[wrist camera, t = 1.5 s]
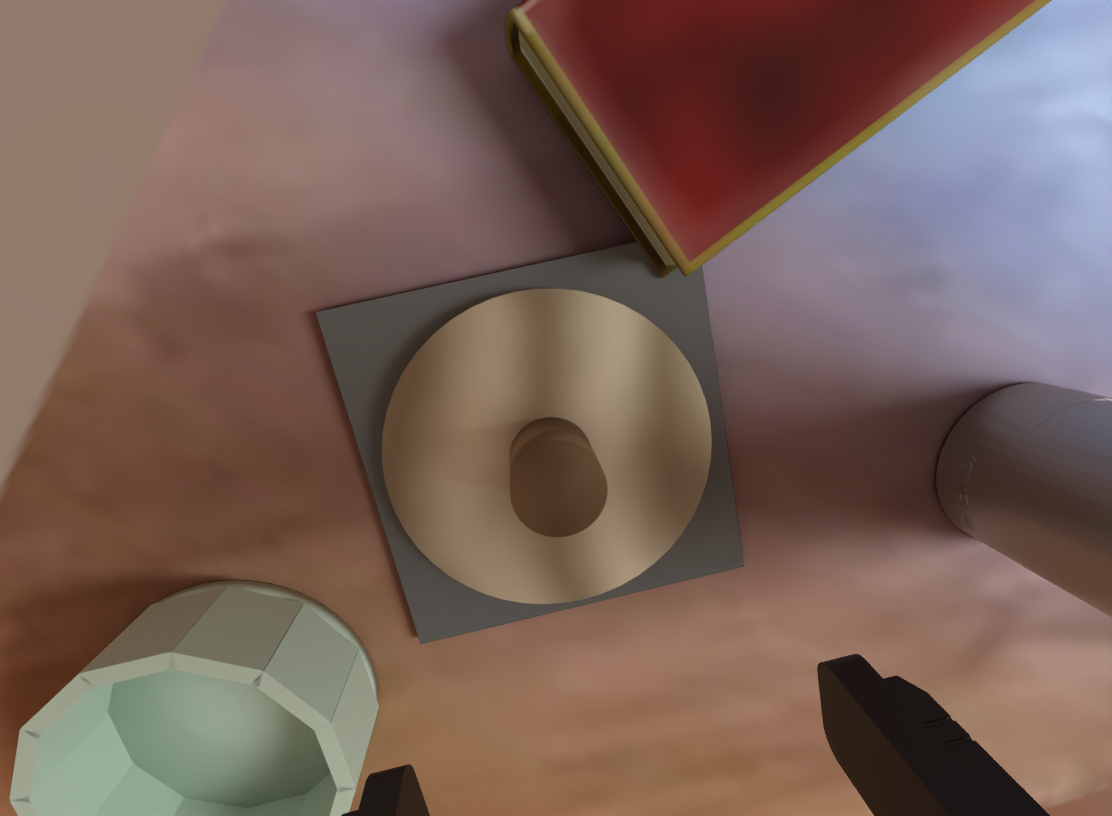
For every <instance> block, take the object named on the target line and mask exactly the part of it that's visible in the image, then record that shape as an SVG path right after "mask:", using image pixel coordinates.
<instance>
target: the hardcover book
mask: <svg viewBox="0 0 1112 816" xmlns="http://www.w3.org/2000/svg"><path fill="white" fill-rule="evenodd" d="M1050 1H1051V0H524V1H522V2H521V3H520V4H519V5H517V6H516V7H515V8H514V9H512V10H511V11H510V12H509V13H508V14H507V17H506V19H505V35H506V41H507V46H508V50H509V52H510V55H511V57H512V59H513V60H514V62H515V63H516V65H517V66H518V68H519V69H520V70H521V72H522V73H523V75H524V76H525V78H526V79H527V81H528V82H529V84H530V85H531V87H532V88H533V90H534V91H535V93H536V94H537V95H538V97H539V98H540V100H541V101H542V103H543V104H544V106H545V107H546V109H547V110H548V112H549V113H550V115H551V116H552V118H553V119H554V120H555V122H556V123H557V125H558V126H559V128H560V129H561V131H562V132H563V134H564V135H565V137H566V138H567V140H568V141H569V143H570V144H571V145H572V147H573V148H574V150H575V151H576V153H577V154H578V156H579V157H580V159H581V160H582V162H583V163H584V165H585V166H586V168H587V169H588V170H589V172H590V173H591V175H592V176H593V178H594V179H595V181H596V182H597V184H598V185H599V187H600V188H601V190H602V191H603V193H604V194H605V195H606V197H607V198H608V200H609V201H610V203H611V204H612V206H613V207H614V209H615V210H616V212H617V213H618V215H619V216H620V218H621V219H622V220H623V222H624V223H625V225H626V226H627V228H628V229H629V231H630V232H631V234H632V235H633V237H634V238H635V240H636V241H637V243H638V244H639V246H640V247H641V248H642V250H643V251H644V253H645V254H646V256H647V257H648V259H649V260H650V262H651V263H652V265H653V266H654V268H655V269H656V271H657V272H658V273H659V275H660V276H661V278H664V277H665V276H667V275H668V274H669V273H671V272H672V271H673V270H675V269H676V268H677V267H678V268H679V270H680V271H681V273H682V274H683V276H684V277H686V276H688V275H690V274H691V273H692V272H693V271H695V270H696V269H697V268H699V267H700V266H701V265H703V264H704V263H705V262H707V261H708V260H709V259H711V258H712V257H713V256H715V255H716V254H717V253H719V252H720V251H721V250H723V249H724V248H725V247H727V246H728V245H729V244H730V243H732V242H733V241H734V240H736V239H737V238H738V237H740V236H741V235H742V234H744V233H745V232H746V231H748V230H749V229H750V228H752V227H753V226H754V225H756V224H757V223H758V222H760V221H761V220H762V219H763V218H765V217H766V216H767V215H769V214H770V213H771V212H773V211H774V210H775V209H777V208H778V207H779V206H781V205H782V204H783V203H785V202H786V201H787V200H789V199H790V198H791V197H793V196H794V195H795V194H797V193H798V192H799V191H800V190H802V189H803V188H804V187H806V186H807V185H808V184H810V183H811V182H812V181H814V180H815V179H816V178H818V177H819V176H820V175H822V174H823V173H824V172H826V171H827V170H828V169H830V168H831V167H832V166H833V165H835V164H836V163H837V162H839V161H840V160H841V159H843V158H844V157H845V156H847V155H848V154H849V153H851V152H852V151H853V150H855V149H856V148H857V147H859V146H860V145H861V144H863V143H864V142H865V141H867V140H868V139H869V138H870V137H872V136H873V135H874V134H876V133H877V132H878V131H880V130H881V129H882V128H884V127H885V126H886V125H888V124H889V123H890V122H892V121H893V120H894V119H896V118H897V117H898V116H900V115H901V114H902V113H903V112H905V111H906V110H907V109H909V108H910V107H911V106H913V105H914V104H915V103H917V102H918V101H919V100H921V99H922V98H923V97H925V96H926V95H927V94H929V93H930V92H931V91H933V90H934V89H935V88H937V87H938V86H939V85H940V84H942V83H943V82H944V81H946V80H947V79H948V78H950V77H951V76H952V75H954V74H955V73H956V72H958V71H959V70H960V69H962V68H963V67H964V66H966V65H967V64H968V63H970V62H971V61H972V60H973V59H975V58H976V57H977V56H979V55H980V54H981V53H983V52H984V51H985V50H987V49H988V48H989V47H991V46H992V45H993V44H995V43H996V42H997V41H999V40H1000V39H1001V38H1003V37H1004V36H1005V35H1007V34H1008V33H1009V32H1010V31H1012V30H1013V29H1014V28H1016V27H1017V26H1018V25H1020V24H1021V23H1022V22H1024V21H1025V20H1026V19H1028V18H1029V17H1030V16H1032V15H1033V14H1034V13H1036V12H1037V11H1038V10H1040V9H1041V8H1042V7H1043V6H1045V5H1046V4H1047V3H1049V2H1050Z"/></svg>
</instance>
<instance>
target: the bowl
mask: <svg viewBox="0 0 1112 816" xmlns="http://www.w3.org/2000/svg"><path fill="white" fill-rule="evenodd" d="M378 709H379V705H378V685H377V678H376V674H375V670H374V666H373V664H372V661H371V659H370V657H369V654H368V652H367V650H366V649H365V647H364V645H363V644H362V642H361V641H360V639H359V638H358V636H357V635H356V634H355V633H354V632H353V630H352V629H351V628H350V627H349V626H348V625H347V624H346V623H345V622H344V621H343V620H342V619H341V618H340V617H339V616H338V615H336V614H335V613H334V612H332V611H331V610H330V609H328V608H327V607H325V606H324V605H322V604H321V603H319V602H317V601H315V600H313V599H312V598H310V597H308V596H306V595H303V594H301V593H298V592H296V591H294V590H291V589H288V588H284V587H281V586H277V585H274V584H268V583H262V582H256V581H241V580H232V581H217V582H211V583H205V584H199V585H196V586H193V587H189V588H186V589H183V590H180V591H178V592H176V593H173V594H171V595H169V596H167V597H165V598H163V599H162V600H160V601H158V602H157V603H154V604H152V605H150V606H149V607H148V608H147V609H146V610H145V611H144V612H143V613H142V614H141V615H139V616H138V617H137V618H136V619H135V620H134V621H133V622H132V623H131V624H130V625H129V626H128V627H127V628H126V629H125V630H124V631H122V632H121V633H120V634H119V635H118V636H117V637H116V638H115V639H114V640H113V641H112V642H111V643H110V644H109V645H108V646H106V647H105V648H104V649H103V650H102V651H101V652H100V653H99V654H98V655H97V656H96V657H95V658H94V659H93V660H92V661H91V662H90V663H89V664H88V665H87V666H85V667H84V668H83V669H82V670H81V671H80V672H79V673H78V674H77V675H76V676H75V677H74V678H73V679H72V680H71V681H70V682H69V683H68V684H67V685H66V686H65V687H64V688H62V689H61V690H60V691H59V692H58V693H57V694H56V695H55V696H54V697H53V698H52V699H51V700H50V701H49V702H48V703H47V704H46V705H45V706H44V707H43V708H42V709H40V710H39V711H38V712H37V713H36V714H35V715H34V716H33V717H32V718H31V719H30V720H29V721H28V722H27V723H26V724H25V725H24V726H23V727H22V728H21V729H20V731H19V738H18V745H17V752H16V758H15V765H14V772H13V779H12V786H11V793H10V799H9V800H10V803H11V804H12V806H13V808H14V809H15V811H16V813H17V815H18V816H341V815H342V814H344V813H348V812H349V810H350V807H351V804H352V800H353V797H354V794H355V790H356V787H357V783H358V780H359V776H360V773H361V769H362V766H363V762H364V759H365V755H366V752H367V748H368V745H369V741H370V737H371V734H372V730H373V727H374V723H375V720H376V716H377V713H378Z"/></svg>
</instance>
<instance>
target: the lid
mask: <svg viewBox="0 0 1112 816" xmlns="http://www.w3.org/2000/svg"><path fill="white" fill-rule="evenodd" d="M711 447H712V436H711V424H710V417H709V412H708V408H707V403H706V399H705V397H704V394H703V391H702V389H701V386H700V383H699V381H698V379H697V377H696V375H695V373H694V371H693V369H692V368H691V366H690V364H689V362H688V361H687V359H686V358H685V357H684V355H683V354H682V353H681V351H680V350H679V348H678V347H677V346H676V345H675V344H674V343H673V341H672V340H671V339H670V338H669V337H668V336H667V335H666V334H665V333H664V332H663V331H662V330H661V329H659V328H658V327H657V326H656V325H654V324H653V323H652V322H650V321H649V320H648V319H647V318H645V317H644V316H642V315H641V314H639V313H637V312H635V311H634V310H632V309H630V308H628V307H627V306H625V305H623V304H620V303H618V302H615V301H613V300H610V299H608V298H605V297H602V296H599V295H595V294H591V293H587V292H583V291H579V290H571V289H562V288H534V289H528V290H521V291H515V292H510V293H507V294H504V295H500V296H497V297H493V298H490V299H488V300H486V301H484V302H481V303H479V304H477V305H475V306H472V307H470V308H469V309H467V310H466V311H464V312H462V313H461V314H459V315H457V316H456V317H454V318H453V319H451V320H450V321H449V322H448V323H446V324H445V325H444V326H443V327H441V328H440V329H439V330H438V331H437V332H435V333H434V334H433V335H432V336H431V337H430V338H429V339H428V340H427V342H426V343H425V344H424V345H423V346H422V347H421V348H420V349H419V350H418V351H417V352H416V354H415V355H414V357H413V358H412V360H411V361H410V363H409V364H408V365H407V367H406V368H405V370H404V371H403V373H402V375H401V377H400V379H399V381H398V383H397V385H396V387H395V389H394V391H393V394H392V397H391V400H390V403H389V406H388V409H387V412H386V418H385V423H384V428H383V436H382V463H383V474H384V478H385V483H386V487H387V491H388V495H389V498H390V500H391V503H392V505H393V508H394V511H395V513H396V515H397V517H398V519H399V521H400V522H401V524H402V526H403V528H404V530H405V531H406V533H407V534H408V536H409V537H410V538H411V540H412V541H413V542H414V544H415V545H416V546H417V548H418V549H419V550H420V551H421V552H422V553H423V554H424V555H425V556H426V557H427V558H428V559H429V560H430V561H431V562H432V563H433V564H434V565H436V566H437V567H438V568H439V569H441V570H442V571H443V572H445V573H446V574H447V575H448V576H450V577H452V578H453V579H455V580H457V581H459V582H460V583H462V584H464V585H465V586H467V587H470V588H472V589H474V590H476V591H479V592H481V593H483V594H486V595H490V596H493V597H496V598H500V599H503V600H508V601H514V602H520V603H531V604H554V603H566V602H571V601H577V600H582V599H586V598H589V597H593V596H596V595H599V594H603V593H605V592H607V591H609V590H612V589H614V588H616V587H619V586H621V585H623V584H624V583H626V582H628V581H630V580H631V579H633V578H635V577H636V576H638V575H640V574H641V573H642V572H644V571H645V570H646V569H648V568H649V567H650V566H652V565H653V564H654V563H655V562H656V561H657V560H658V559H660V558H661V557H662V556H663V555H664V554H665V553H666V552H667V551H668V550H669V549H670V548H671V546H672V545H673V544H674V543H675V542H676V540H677V539H678V538H679V537H680V535H681V534H682V533H683V531H684V530H685V528H686V526H687V525H688V523H689V522H690V520H691V519H692V517H693V515H694V513H695V511H696V508H697V506H698V504H699V502H700V500H701V497H702V494H703V491H704V488H705V485H706V482H707V478H708V473H709V467H710V462H711Z"/></svg>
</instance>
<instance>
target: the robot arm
mask: <svg viewBox="0 0 1112 816" xmlns="http://www.w3.org/2000/svg"><path fill="white" fill-rule="evenodd" d="M936 486H937V492H938V498H939V501H940V503H941V506H942V508H943V510H944V512H945V514H946V515H947V516H948V518H949V519H950V520H951V522H952V523H953V524H954V525H956V526H957V527H958V528H960V529H961V530H962V531H964V532H965V533H967V534H968V535H970V536H972V537H974V538H975V539H977V540H979V541H981V542H982V543H984V544H986V545H988V546H989V547H991V548H993V549H995V550H996V551H998V552H1000V553H1001V554H1003V555H1005V556H1007V557H1008V558H1010V559H1012V560H1014V561H1015V562H1017V563H1019V564H1021V565H1022V566H1024V567H1025V568H1027V569H1029V570H1030V571H1032V572H1034V573H1036V574H1037V575H1039V576H1041V577H1043V578H1044V579H1046V580H1048V581H1050V582H1051V583H1053V584H1055V585H1057V586H1058V587H1060V588H1062V589H1063V590H1065V591H1067V592H1069V593H1070V594H1072V595H1074V596H1076V597H1077V598H1079V599H1081V600H1083V601H1084V602H1086V603H1088V604H1090V605H1091V606H1093V607H1095V608H1097V609H1098V610H1100V611H1102V612H1104V613H1105V614H1107V615H1109V616H1111V617H1112V398H1109V397H1105V396H1100V395H1096V394H1090V393H1085V392H1080V391H1076V390H1071V389H1066V388H1061V387H1057V386H1052V385H1047V384H1043V383H1023V384H1018V385H1014V386H1009V387H1006V388H1003V389H1001V390H999V391H997V392H994V393H992V394H990V395H988V396H987V397H985V398H984V399H983V400H981V401H980V402H978V403H977V404H975V405H974V406H973V407H972V408H971V409H970V410H969V411H968V412H967V413H966V414H965V415H964V416H962V417H961V419H960V420H959V421H958V423H957V424H956V425H955V427H954V428H953V430H952V431H951V432H950V434H949V436H948V438H947V440H946V442H945V444H944V446H943V448H942V451H941V454H940V458H939V461H938V465H937V476H936ZM817 671H818V681H819V690H820V699H821V708H822V717H823V726H824V730H825V734H826V737H827V740H828V743H829V745H830V748H831V750H832V752H833V754H834V756H835V758H836V760H837V761H838V763H839V764H840V766H841V767H842V769H843V770H844V772H845V773H846V775H847V776H848V778H849V779H850V781H851V782H852V784H853V785H854V786H855V788H856V789H857V791H858V792H859V794H860V795H861V797H862V798H863V800H864V801H865V803H866V804H867V806H868V807H869V809H870V810H871V812H872V813H873V814H874V816H1050V815H1049V814H1048V813H1047V812H1046V811H1045V810H1044V809H1043V808H1042V807H1041V806H1040V805H1039V804H1038V803H1037V802H1036V801H1035V800H1034V799H1033V798H1032V797H1031V796H1030V795H1029V794H1028V793H1027V792H1026V791H1025V790H1024V789H1023V788H1022V787H1021V786H1020V785H1019V784H1018V783H1017V782H1016V781H1015V780H1014V779H1013V778H1012V777H1011V776H1010V775H1009V774H1008V773H1007V772H1006V771H1005V770H1004V769H1003V768H1002V767H1001V766H1000V765H999V764H998V763H997V762H996V761H995V760H994V759H993V758H992V757H991V756H990V755H989V754H988V753H987V752H986V751H985V750H984V749H983V748H982V747H981V746H980V745H979V744H978V743H977V742H976V741H973V740H972V739H971V737H970V735H969V734H968V733H967V732H966V731H965V730H964V729H963V728H962V727H961V726H960V725H959V724H958V723H957V722H956V721H953V720H952V719H951V716H950V715H949V714H948V713H947V712H946V711H945V710H944V709H943V708H942V707H941V706H940V705H939V704H938V703H937V702H936V701H935V700H934V699H933V698H932V697H931V696H930V695H929V694H928V693H927V692H925V691H923V690H922V689H920V688H918V687H916V686H915V685H913V684H911V683H909V682H908V681H906V680H904V679H902V678H901V677H899V676H893V677H889V678H885V679H883V678H882V677H881V676H880V675H879V674H878V673H877V672H876V671H875V670H874V668H873V667H872V666H871V665H870V664H869V663H868V662H867V661H866V660H865V659H864V658H863V657H862V656H861V655H859V654H853V655H849V656H845V657H841V658H837V659H833V660H829V661H825V662H821V663H819V664H818V669H817ZM341 816H430V815H429V812H428V809H427V806H426V803H425V800H424V797H423V794H422V791H421V789H420V786H419V783H418V780H417V777H416V774H415V771H414V769H413V767H412V766H411V765H410V764H408V765H404V766H400V767H396V768H392V769H388V770H384V771H380V772H376V773H372V774H370V775H369V776H368V778H367V780H366V783H365V787H364V791H363V794H362V798H361V802H360V806H359V810H356V811H352V812H348V813H344V814H342V815H341Z"/></svg>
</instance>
